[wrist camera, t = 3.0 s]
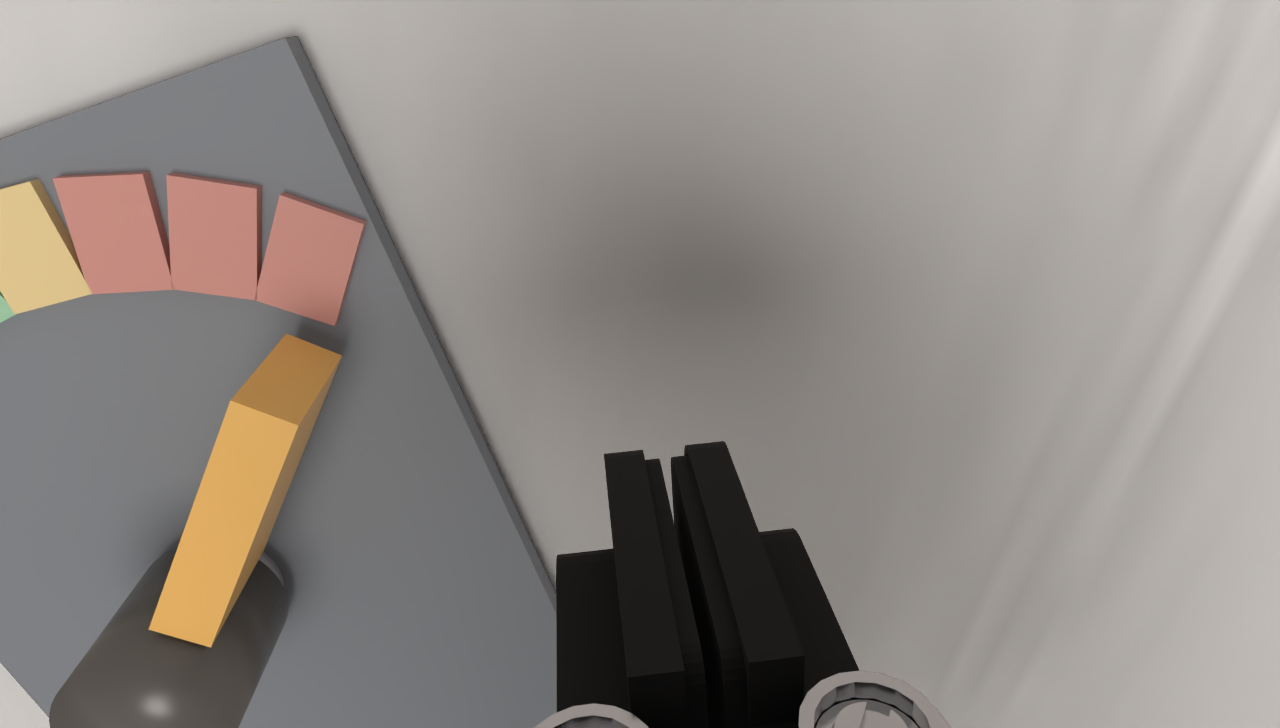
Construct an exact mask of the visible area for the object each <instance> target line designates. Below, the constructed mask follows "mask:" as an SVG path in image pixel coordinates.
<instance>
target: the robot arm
mask: <svg viewBox="0 0 1280 728" xmlns="http://www.w3.org/2000/svg"><path fill="white" fill-rule="evenodd" d="M604 459H605V469H606V479H607V489H608V499H609V509H610V519H611V530H612V540H613V549H607V550H598V551H589V552H580V553H571V554H562V555H557V562H556V625H557V713H554V714H552V715H551V716H549V717H548V718H547V719H545V720H544V721H543V722H541V723H540V724H538V725H537V726H536V727H534V728H951V727H950V726H949V725H948V723H947V722H946V720H945V719H944V718H943V716H942V715H941V713H940V712H939V711H938V709H937V708H936V707H935V706H934V705H933V704H932V703H931V702H930V701H929V700H928V699H927V698H926V697H925V696H924V695H923V694H922V693H921V692H919V691H918V690H916V689H915V688H913V687H912V686H910V685H908V684H907V683H905V682H904V681H901V680H899V679H896V678H893V677H890V676H887V675H885V674H882V673H874V672H866V671H859V669H858V666H857V664H856V662H855V660H854V657H853V655H852V653H851V651H850V648H849V646H848V644H847V642H846V639H845V637H844V635H843V633H842V630H841V628H840V626H839V624H838V621H837V619H836V617H835V615H834V612H833V610H832V608H831V606H830V603H829V601H828V599H827V597H826V594H825V592H824V590H823V588H822V585H821V583H820V581H819V579H818V576H817V574H816V572H815V570H814V567H813V565H812V563H811V561H810V558H809V556H808V554H807V552H806V549H805V547H804V545H803V543H802V540H801V538H800V536H799V535H798V533H797V531H796V530H794V529H793V528H792V529H783V530H774V531H766V532H759V531H758V529H757V526H756V523H755V520H754V518H753V515H752V512H751V510H750V507H749V504H748V502H747V499H746V496H745V494H744V491H743V488H742V486H741V483H740V480H739V478H738V475H737V472H736V470H735V467H734V464H733V462H732V459H731V456H730V453H729V451H728V448H727V445H726V443H725V442H724V441H722V442H713V443H703V444H694V445H685V451H684V456H679V457H671V475H672V493H673V510H674V522H673V518H672V513H671V509H670V504H669V500H668V495H667V491H666V486H665V482H664V477H663V473H662V468H661V463H660V460H659V459H651V460H645V458H644V453H643V450H637V451H628V452H618V453H609V454H604Z"/></svg>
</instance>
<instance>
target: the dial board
mask: <svg viewBox="0 0 1280 728" xmlns="http://www.w3.org/2000/svg"><path fill="white" fill-rule="evenodd" d="M286 334H289V335H292V336H294V337H297V338H299V339H302V340H304V341H307V342H309V343H312V344H314V345H317V346H319V347H322V348H324V349H327V350H330V351H332V352H335V353H337V354H340V355H342V358H341V360H340V363H339V365H338V367H337V370H336V372H335V375H334V377H333V380H332V382H331V385H330V387H329V390H328V392H327V395H326V397H325V400H324V402H323V405H322V407H321V410H320V412H319V415H318V417H317V420H316V422H315V425H314V427H313V430H312V432H311V434H310V437H309V439H308V442H307V444H306V447H305V449H304V452H303V454H302V457H301V459H300V462H299V464H298V467H297V469H296V472H295V474H294V477H293V479H292V482H291V484H290V487H289V489H288V492H287V494H286V497H285V499H284V502H283V504H282V506H281V509H280V511H279V514H278V516H277V519H276V521H275V524H274V526H273V529H272V531H271V534H270V536H269V539H268V541H267V544H266V546H265V549H264V551H263V553H262V555H261V556H260V558H259V560H260V561H261V562H263V563H264V564H265V565H266V566H268V567H269V568H270V569H271V570H272V571H273V572H274V573H275V574H276V576H277V577H278V578H279V580H280V581H281V583H282V585H283V587H284V589H285V591H286V594H287V598H288V616H287V619H286V622H285V625H284V627H283V629H282V631H281V634H280V636H279V638H278V640H277V643H276V645H275V647H274V649H273V652H272V654H271V656H270V658H269V661H268V663H267V665H266V667H265V670H264V672H263V674H262V676H261V679H260V681H259V683H258V685H257V688H256V690H255V692H254V694H253V697H252V699H251V701H250V703H249V706H248V708H247V710H246V712H245V715H244V717H243V719H242V721H241V724H240V726H239V728H534V727H536V726H537V725H538V724H540V723H541V722H543V721H544V720H545V719H547V718H548V717H549V716H551V715H552V714H554V713H557V625H556V593H555V590H554V588H553V586H552V584H551V582H550V580H549V577H548V575H547V573H546V571H545V569H544V567H543V565H542V562H541V560H540V558H539V556H538V554H537V552H536V549H535V547H534V545H533V543H532V541H531V539H530V537H529V534H528V532H527V530H526V528H525V526H524V524H523V521H522V519H521V517H520V515H519V513H518V511H517V509H516V506H515V504H514V502H513V500H512V498H511V496H510V493H509V491H508V489H507V487H506V485H505V483H504V481H503V478H502V476H501V474H500V472H499V470H498V468H497V465H496V463H495V461H494V459H493V457H492V455H491V453H490V450H489V448H488V446H487V444H486V442H485V440H484V437H483V435H482V433H481V431H480V429H479V427H478V425H477V422H476V420H475V418H474V416H473V414H472V412H471V409H470V407H469V405H468V403H467V401H466V399H465V397H464V394H463V392H462V390H461V388H460V386H459V384H458V382H457V379H456V377H455V375H454V373H453V371H452V369H451V366H450V364H449V362H448V360H447V358H446V356H445V354H444V351H443V349H442V347H441V345H440V343H439V341H438V338H437V336H436V334H435V332H434V330H433V328H432V326H431V323H430V321H429V319H428V317H427V315H426V313H425V310H424V308H423V306H422V304H421V302H420V300H419V298H418V295H417V293H416V291H415V289H414V287H413V285H412V282H411V280H410V278H409V276H408V274H407V272H406V270H405V267H404V265H403V263H402V261H401V259H400V257H399V254H398V252H397V250H396V248H395V246H394V244H393V242H392V239H391V237H390V235H389V233H388V231H387V229H386V226H385V224H384V222H383V220H382V218H381V216H380V214H379V211H378V209H377V207H376V205H375V203H374V201H373V198H372V196H371V194H370V192H369V190H368V188H367V186H366V183H365V181H364V179H363V177H362V175H361V173H360V170H359V168H358V166H357V164H356V162H355V160H354V158H353V155H352V153H351V151H350V149H349V147H348V145H347V142H346V140H345V138H344V136H343V134H342V132H341V130H340V127H339V125H338V123H337V121H336V119H335V117H334V114H333V112H332V110H331V108H330V106H329V104H328V102H327V99H326V97H325V95H324V93H323V91H322V89H321V86H320V84H319V82H318V80H317V78H316V76H315V74H314V71H313V69H312V67H311V65H310V63H309V61H308V58H307V56H306V54H305V52H304V50H303V48H302V46H301V43H300V41H299V39H298V37H288V38H283V39H280V40H277V41H275V42H272V43H269V44H266V45H263V46H261V47H258V48H255V49H252V50H249V51H247V52H244V53H241V54H238V55H235V56H232V57H230V58H227V59H224V60H221V61H218V62H216V63H213V64H210V65H207V66H204V67H202V68H199V69H196V70H193V71H190V72H188V73H185V74H182V75H179V76H176V77H174V78H171V79H168V80H165V81H162V82H160V83H157V84H154V85H151V86H148V87H146V88H143V89H140V90H137V91H134V92H132V93H129V94H126V95H123V96H120V97H118V98H115V99H112V100H109V101H106V102H104V103H101V104H98V105H95V106H92V107H90V108H87V109H84V110H81V111H78V112H75V113H73V114H70V115H67V116H64V117H61V118H59V119H56V120H53V121H50V122H47V123H45V124H42V125H39V126H36V127H33V128H31V129H28V130H25V131H22V132H19V133H17V134H14V135H11V136H8V137H5V138H3V139H0V662H1V664H2V665H3V666H4V667H5V668H6V669H7V670H8V672H9V673H10V674H11V675H12V676H13V677H14V678H15V680H16V681H17V682H18V683H19V684H20V685H21V686H22V687H23V689H24V690H25V691H26V692H27V693H28V694H29V695H30V697H31V698H32V699H33V700H34V701H35V702H36V703H37V705H38V706H39V707H40V708H41V709H42V710H43V711H44V712H45V714H46V715H47V716H48V717H49V713H50V708H51V704H52V702H53V700H54V697H55V696H56V694H57V693H58V691H59V690H60V689H61V687H62V686H63V684H64V683H65V682H66V680H67V679H68V678H69V676H70V675H71V673H72V672H73V671H74V669H75V668H76V667H77V665H78V664H79V663H80V661H81V660H82V658H83V657H84V656H85V654H86V653H87V652H88V650H89V649H90V648H91V646H92V645H93V643H94V642H95V641H96V639H97V638H98V637H99V635H100V634H101V633H102V631H103V630H104V628H105V627H106V626H107V624H108V623H109V622H110V620H111V619H112V617H113V616H114V615H115V613H116V612H117V611H118V609H119V608H120V607H121V605H122V604H123V602H124V601H125V600H126V598H127V597H128V596H129V594H130V593H131V592H132V590H133V589H134V587H135V586H136V585H137V583H138V582H139V581H140V579H141V578H142V577H143V575H144V574H145V572H146V571H147V570H148V568H149V567H150V566H151V565H152V564H153V563H154V562H155V561H156V560H157V559H158V558H160V557H161V556H162V555H164V554H166V553H168V552H170V551H172V550H175V549H177V548H178V545H179V543H180V540H181V537H182V534H183V531H184V529H185V526H186V523H187V520H188V517H189V515H190V512H191V509H192V506H193V503H194V501H195V498H196V495H197V492H198V489H199V487H200V484H201V481H202V478H203V475H204V473H205V470H206V467H207V464H208V461H209V459H210V456H211V453H212V450H213V447H214V445H215V442H216V439H217V436H218V433H219V431H220V428H221V425H222V422H223V419H224V417H225V414H226V411H227V408H228V406H229V403H230V400H231V399H232V398H233V397H234V395H235V394H236V393H237V392H238V391H239V390H240V388H241V387H242V386H243V385H244V384H245V382H246V381H247V380H248V379H249V378H250V376H251V375H252V374H253V373H254V372H255V370H256V369H257V368H258V367H259V366H260V364H261V363H262V362H263V361H264V360H265V358H266V357H267V356H268V355H269V354H270V352H271V351H272V350H273V349H274V348H275V347H276V345H277V344H278V343H279V342H280V341H281V339H282V338H283V337H284V336H285V335H286Z"/></svg>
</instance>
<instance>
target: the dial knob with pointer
mask: <svg viewBox="0 0 1280 728" xmlns="http://www.w3.org/2000/svg"><path fill="white" fill-rule="evenodd" d="M341 358H342V355H340V354H337V353H335V352H332V351H330V350H327V349H324V348H322V347H319V346H317V345H314V344H312V343H309V342H307V341H304V340H302V339H299V338H297V337H294V336H292V335H289V334H286V335H285V336H284V337H283V338H282V339H281V341H280V342H279V343H278V344H277V345H276V347H275V348H274V349H273V350H272V351H271V352H270V354H269V355H268V356H267V357H266V358H265V360H264V361H263V362H262V363H261V364H260V366H259V367H258V368H257V369H256V370H255V372H254V373H253V374H252V375H251V376H250V378H249V379H248V380H247V381H246V382H245V384H244V385H243V386H242V387H241V388H240V390H239V391H238V392H237V393H236V394H235V395H234V397H233V398H232V399H231V400H230V403H229V406H228V408H227V411H226V414H225V417H224V419H223V422H222V425H221V428H220V431H219V433H218V436H217V439H216V442H215V445H214V447H213V450H212V453H211V456H210V459H209V461H208V464H207V467H206V470H205V473H204V475H203V478H202V481H201V484H200V487H199V489H198V492H197V495H196V498H195V501H194V503H193V506H192V509H191V512H190V515H189V517H188V520H187V523H186V526H185V529H184V531H183V534H182V537H181V540H180V543H179V545H178V548H177V549H175V550H172V551H170V552H168V553H166V554H164V555H162V556H161V557H160V558H158V559H157V560H156V561H155V562H154V563H153V564H152V565H151V566H150V567H149V568H148V570H147V571H146V572H145V574H144V575H143V577H142V578H141V579H140V581H139V582H138V583H137V585H136V586H135V587H134V589H133V590H132V592H131V593H130V594H129V596H128V597H127V598H126V600H125V601H124V602H123V604H122V605H121V607H120V608H119V609H118V611H117V612H116V613H115V615H114V616H113V617H112V619H111V620H110V622H109V623H108V624H107V626H106V627H105V628H104V630H103V631H102V633H101V634H100V635H99V637H98V638H97V639H96V641H95V642H94V643H93V645H92V646H91V648H90V649H89V650H88V652H87V653H86V654H85V656H84V657H83V658H82V660H81V661H80V663H79V664H78V665H77V667H76V668H75V669H74V671H73V672H72V673H71V675H70V676H69V678H68V679H67V680H66V682H65V683H64V684H63V686H62V687H61V689H60V690H59V691H58V693H57V694H56V696H55V697H54V700H53V702H52V704H51V708H50V713H49V722H50V728H239V726H240V724H241V721H242V719H243V717H244V715H245V712H246V710H247V708H248V706H249V703H250V701H251V699H252V697H253V694H254V692H255V690H256V688H257V685H258V683H259V681H260V679H261V676H262V674H263V672H264V670H265V667H266V665H267V663H268V661H269V658H270V656H271V654H272V652H273V649H274V647H275V645H276V643H277V640H278V638H279V636H280V634H281V631H282V629H283V627H284V625H285V622H286V619H287V616H288V598H287V594H286V591H285V589H284V587H283V585H282V583H281V581H280V580H279V578H278V577H277V576H276V574H275V573H274V572H273V571H272V570H271V569H270V568H269V567H268V566H266V565H265V564H264V563H263V562H261V561H260V560H259V558H260V556H261V555H262V553H263V551H264V549H265V546H266V544H267V541H268V539H269V536H270V534H271V531H272V529H273V526H274V524H275V521H276V519H277V516H278V514H279V511H280V509H281V506H282V504H283V502H284V499H285V497H286V494H287V492H288V489H289V487H290V484H291V482H292V479H293V477H294V474H295V472H296V469H297V467H298V464H299V462H300V459H301V457H302V454H303V452H304V449H305V447H306V444H307V442H308V439H309V437H310V434H311V432H312V430H313V427H314V425H315V422H316V420H317V417H318V415H319V412H320V410H321V407H322V405H323V402H324V400H325V397H326V395H327V392H328V390H329V387H330V385H331V382H332V380H333V377H334V375H335V372H336V370H337V367H338V365H339V363H340V360H341Z"/></svg>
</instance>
